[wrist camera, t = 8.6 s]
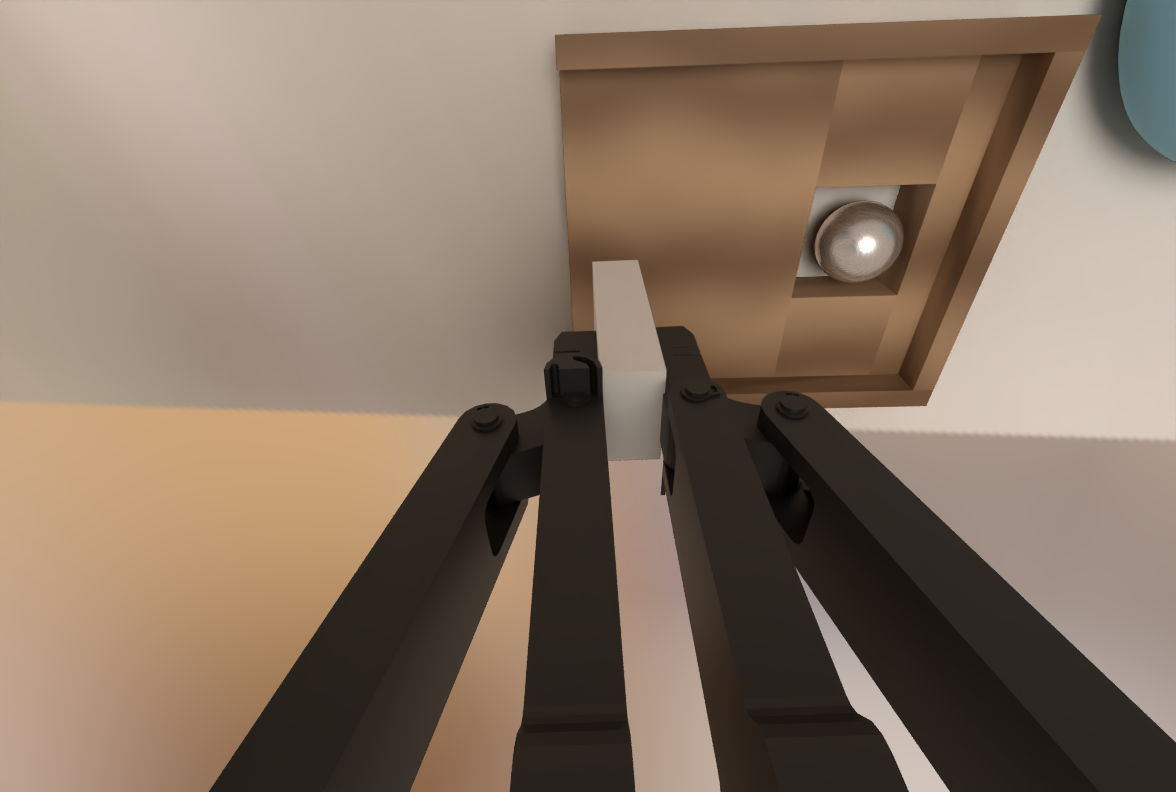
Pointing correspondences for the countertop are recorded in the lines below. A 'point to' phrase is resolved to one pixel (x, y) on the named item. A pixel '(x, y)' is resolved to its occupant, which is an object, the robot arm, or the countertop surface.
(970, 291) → the tray
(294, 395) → the countertop surface
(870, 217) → the ball
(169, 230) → the countertop surface
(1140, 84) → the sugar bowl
